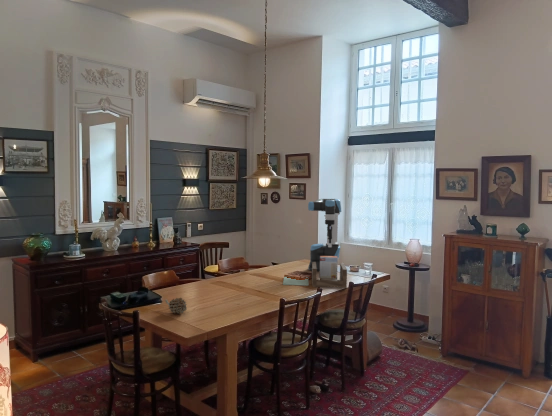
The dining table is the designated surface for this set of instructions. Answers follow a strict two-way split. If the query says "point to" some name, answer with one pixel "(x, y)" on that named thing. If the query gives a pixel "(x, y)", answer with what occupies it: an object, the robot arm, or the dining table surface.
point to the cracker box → (328, 267)
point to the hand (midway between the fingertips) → (329, 245)
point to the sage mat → (295, 282)
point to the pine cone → (177, 305)
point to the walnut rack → (330, 283)
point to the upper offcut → (328, 279)
